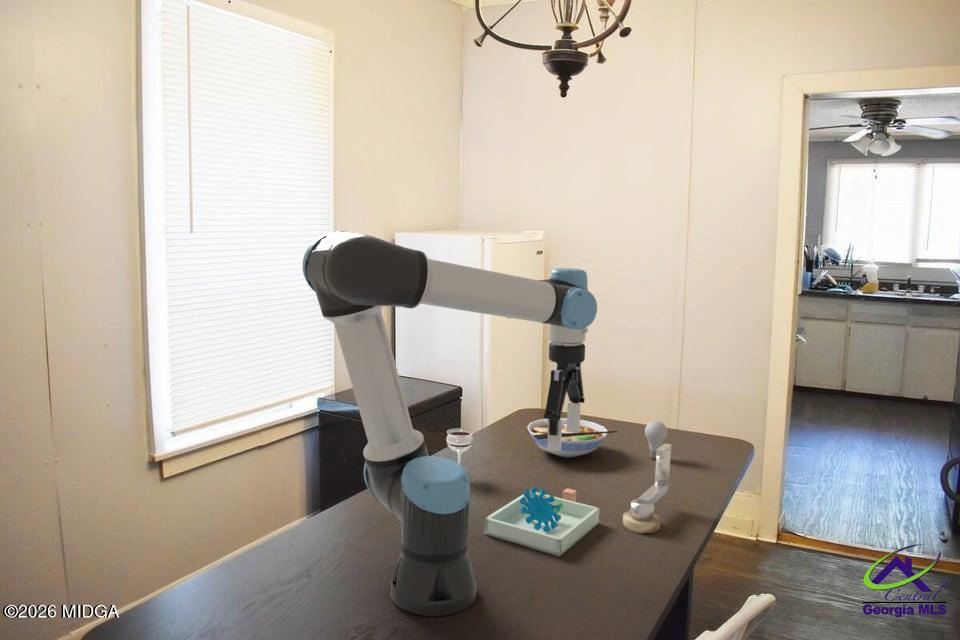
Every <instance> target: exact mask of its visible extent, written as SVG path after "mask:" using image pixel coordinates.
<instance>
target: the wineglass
mask: <svg viewBox="0 0 960 640" xmlns="http://www.w3.org/2000/svg"><path fill="white" fill-rule="evenodd" d="M446 433H447V436H446V444H447V446H448V447H449V448H450V449H451V451H453V452H455V453H456V454H457V463H459V464H460V465H461V460H462V459H461V458H462V456H461V455H462V454H463V453H464V452H466V451H468V450H470V448H471V447H472V445H473V441H474V438H473V436H472V435H473V434H474V432H473V430H471V429H469V428H463V427H462V428H461V427H460V428H459V427H456V428H450V429H448V430H447V431H446Z"/></svg>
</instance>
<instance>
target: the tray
mask: <svg viewBox="0 0 960 640" xmlns="http://www.w3.org/2000/svg"><path fill="white" fill-rule="evenodd" d="M528 490H529V489H528ZM529 491H530V497H531V498H532V492H531V489H530V490H529ZM536 495H537V496H539V495H540V492H538V491H537V492H536ZM550 496H551V495H549V494H545V495H544V496H543V498H545V499H547V498H549V497H550ZM522 497H525V496H524V495H523V494H522V495H519V496H518V497H517V498H515V499H513V500H511V501H510V502H509V503H507V504H505V505H504V506H502V507H501V508H498V509H497V510H496V511H494V512H493V513H491V514H489V515H488V516H486V517H485V518H484V528H483V529H484V530H483V533H484V535H486V536H489V537H493V538H496V539H499V540H503V541H506V542H508V543H513V544H516V545H519V546H522V547H526V548H530V549H532V550H537V551H539V552H543V553H546V554H550V555H553V556H556V557H561V556H562V555H563V554H564V553H565V552H567V551H568V550H569V549H570V548H571V547H573V546H574V545H575V544H577V542H578V541H580V540H581V539H582V538H584V536H586V535H587V534H588V533H589V532H591V530H593V529H594V528H596V527H597V526H598V524H599V523H600V507H596V506H594V505H590V504H589V505H588V504H585V503H582V502H581V503H580V502H577V501H576V502H573V501H569V500H565V499H562V497H561V498H560V497H557V496H553V497H554V499H555V500H554V501H553V502H552V503H551V502H549V501H548V502H549V503H550V504H552V505H558V504H559V503H562V504H563V507H562V508H561V509H560V510H559V511H558V512H557V514H558V515H560V516H561V519H560V520H559V521H558V522H557V521H555V519H554V516H552V517H553V519H554V521H555V522H556V523H557V524H558V526H557V527H556V528H554V529H552V528H551V522H550V521H549V527H550V531H549V532H545V531H543V528H544V527H545V524H544V523H543V522H542V523H541V528H540V529H539V530H538V531H537V530H536V529H535V528H534V525H535V524H537V523H538V521H536V520H533V521H532V522H531V523H530V524H527V522H526V520H525V519H526V518H527V517H528V516H529V514H527V513H525V514H521V511H520V509H521V508H522V507H526V506H525V505H523V504H521V503H520V502H519V501H520V499H521V498H522ZM525 498H526V497H525ZM526 501H527V502H528V500H527V498H526ZM526 509H527V510H528V508H527V507H526Z"/></svg>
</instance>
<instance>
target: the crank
mask: <svg viewBox="0 0 960 640" xmlns="http://www.w3.org/2000/svg"><path fill="white" fill-rule="evenodd" d="M671 453H672V444H670V443H664V442H663V443H662V445H661V447H659V448H657V450H656V459H655V469H654V483H653V485H652V486H650V487H649V488H648V489H647V490H646V491H644V492H643V493H642V494H641V495H640V496H639V497H638V498H636V499H632V500H631V501H630V510H629V511H630V516H631V517H632V518H633V519H635V520H639V521H650V520H652V519H653V517H654V514H655V504H656V502H658V501H659V500H660V499H661V498H663V496H664V495H665V494H666V493H667V492H668V491H669V484H670V483H669V482H670V471H671V469H670V468H671V456H672V455H671Z"/></svg>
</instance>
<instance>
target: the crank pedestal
mask: <svg viewBox="0 0 960 640" xmlns="http://www.w3.org/2000/svg"><path fill="white" fill-rule="evenodd" d="M622 526H623V528H624V529H626V530H628V531H629V532H632V531H633V532H632V533H636V532H637V533H636V534H642V533H651V534H654V533H653V532H655V533H657V532H656V531H658V530H659V529H661V517H660V516H659V515H657V514H656V513H654V517H653V519H652V520H650V521H639V520H635V519H633V518H632V517H631V516H630V510H628V511H624V513H623V515H622ZM659 531H660V530H659ZM659 531H658V532H659Z"/></svg>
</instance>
